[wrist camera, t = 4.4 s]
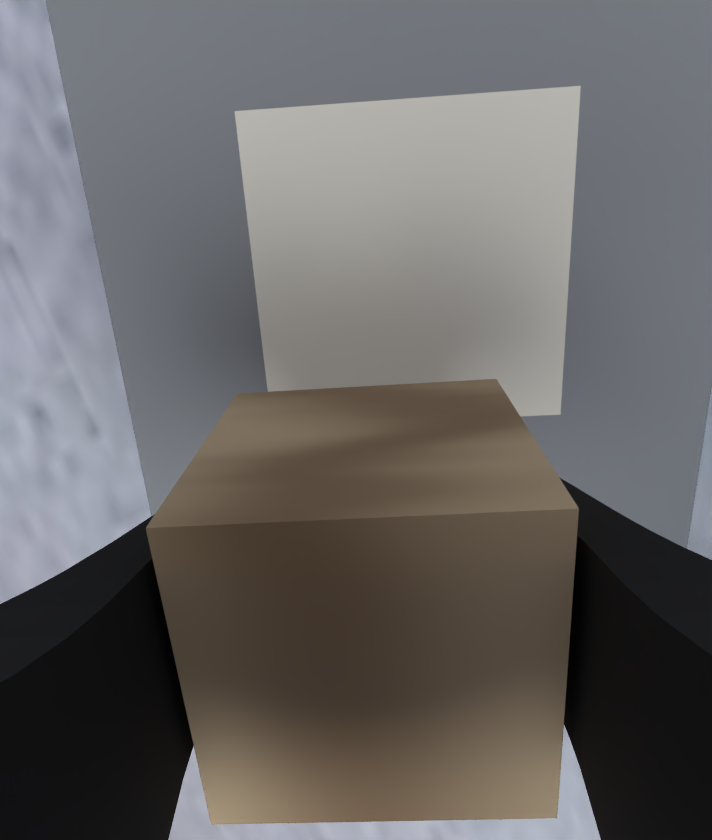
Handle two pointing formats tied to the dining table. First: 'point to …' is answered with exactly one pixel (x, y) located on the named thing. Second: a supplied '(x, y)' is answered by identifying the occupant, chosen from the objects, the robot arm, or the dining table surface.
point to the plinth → (408, 215)
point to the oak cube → (371, 606)
